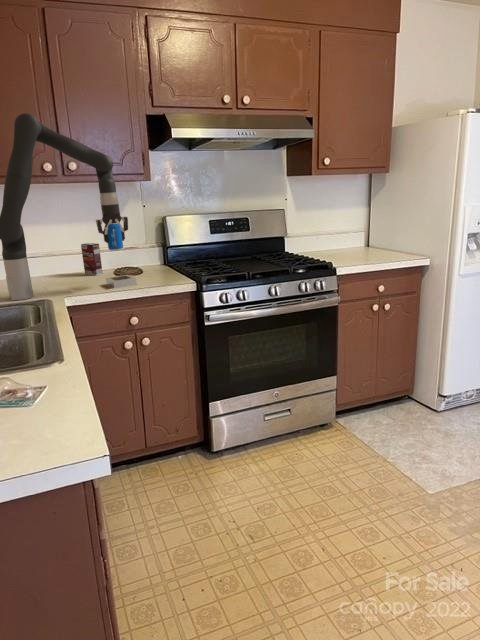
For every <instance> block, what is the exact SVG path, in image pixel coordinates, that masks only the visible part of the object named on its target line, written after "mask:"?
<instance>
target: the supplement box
mask: <svg viewBox="0 0 480 640" xmlns="http://www.w3.org/2000/svg"><path fill="white" fill-rule="evenodd" d="M80 248H81V254H82V262H83V269H84V275H88V276H89V275H90V276H100V275H102V274H103V267H102V260H101V259H102V258H101V249H100V243H91V242H86V243H81V244H80Z"/></svg>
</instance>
